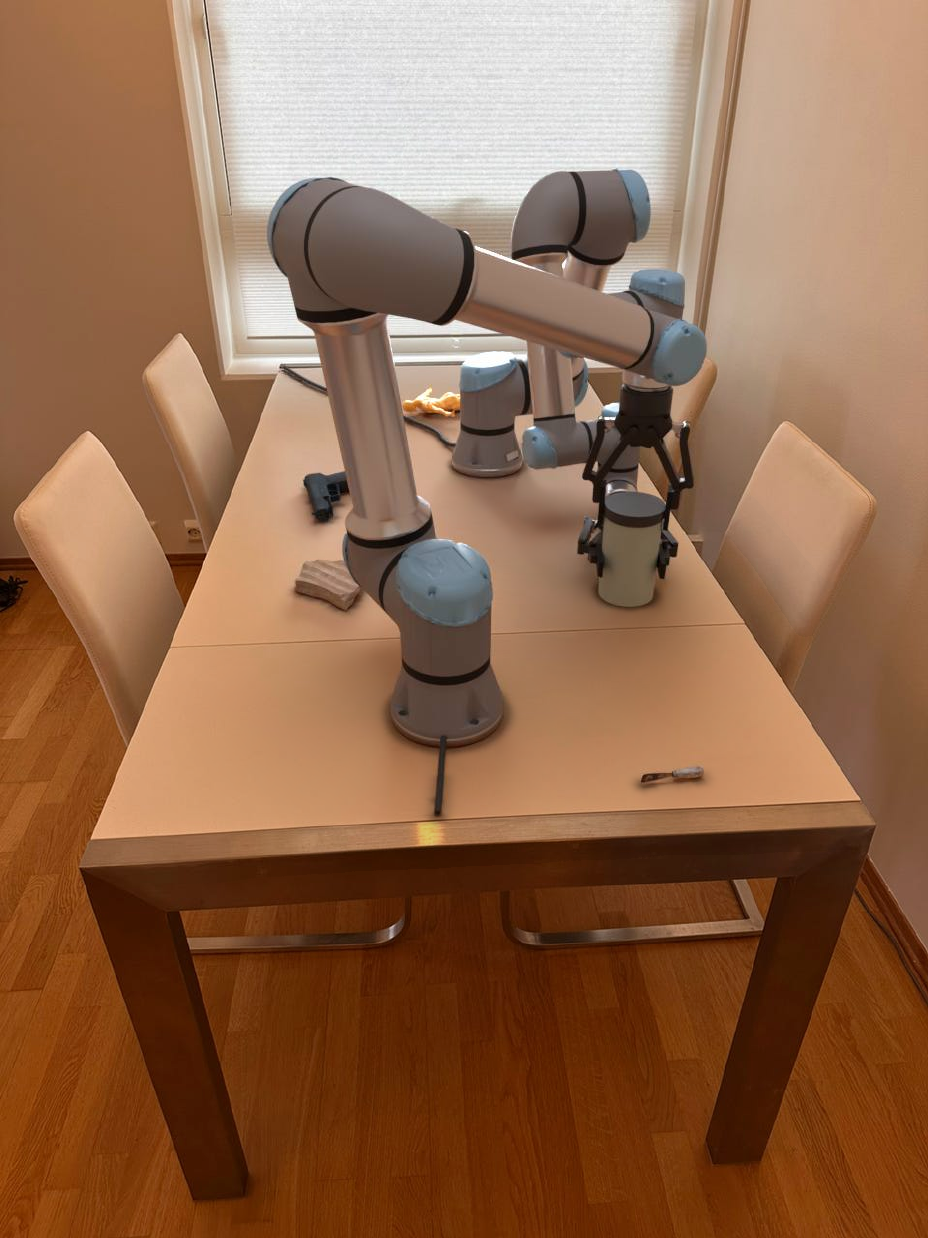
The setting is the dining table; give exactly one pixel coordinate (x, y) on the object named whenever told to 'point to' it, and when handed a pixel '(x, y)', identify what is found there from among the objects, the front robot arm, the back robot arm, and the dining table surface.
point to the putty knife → (674, 774)
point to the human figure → (434, 403)
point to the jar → (629, 563)
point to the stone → (328, 582)
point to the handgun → (325, 492)
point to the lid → (634, 509)
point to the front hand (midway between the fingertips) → (632, 523)
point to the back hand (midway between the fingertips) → (631, 570)
